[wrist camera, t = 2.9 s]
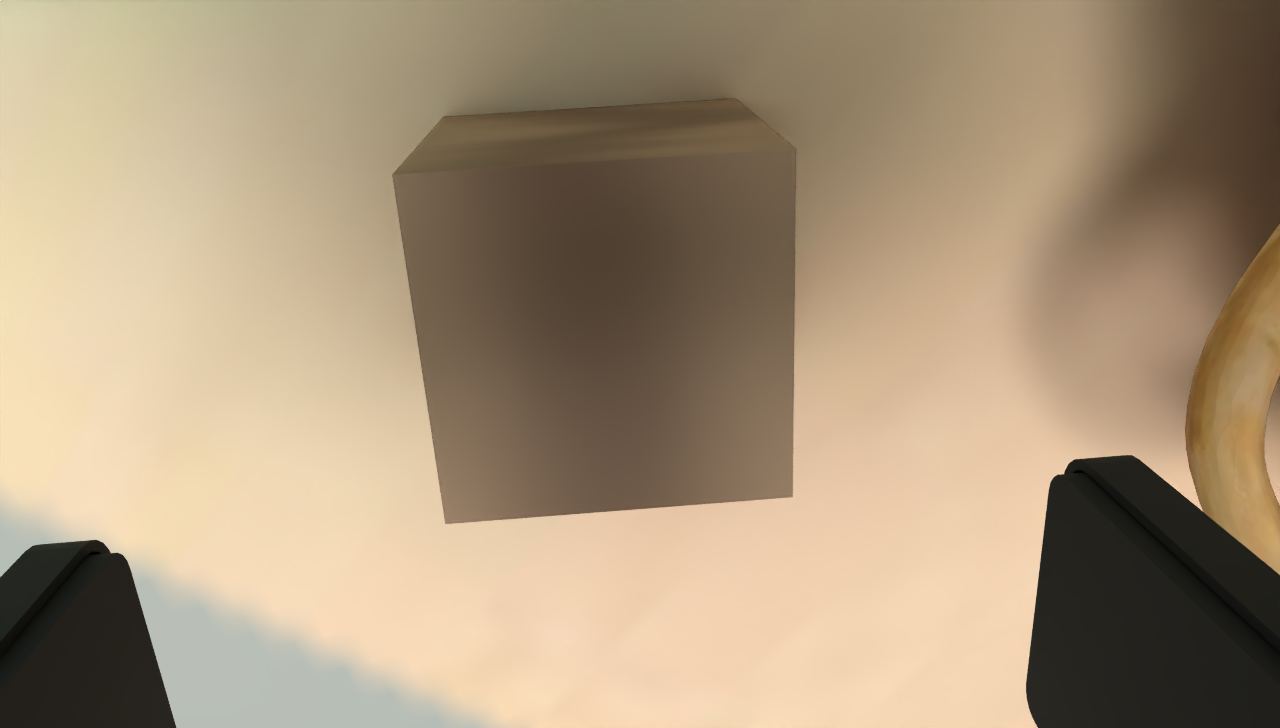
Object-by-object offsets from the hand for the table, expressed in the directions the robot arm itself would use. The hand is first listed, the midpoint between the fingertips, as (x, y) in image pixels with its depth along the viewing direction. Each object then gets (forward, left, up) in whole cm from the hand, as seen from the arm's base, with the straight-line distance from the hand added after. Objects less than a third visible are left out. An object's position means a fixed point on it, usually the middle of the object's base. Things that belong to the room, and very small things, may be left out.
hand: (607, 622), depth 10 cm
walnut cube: (0, -1, -12) cm, 12 cm away
